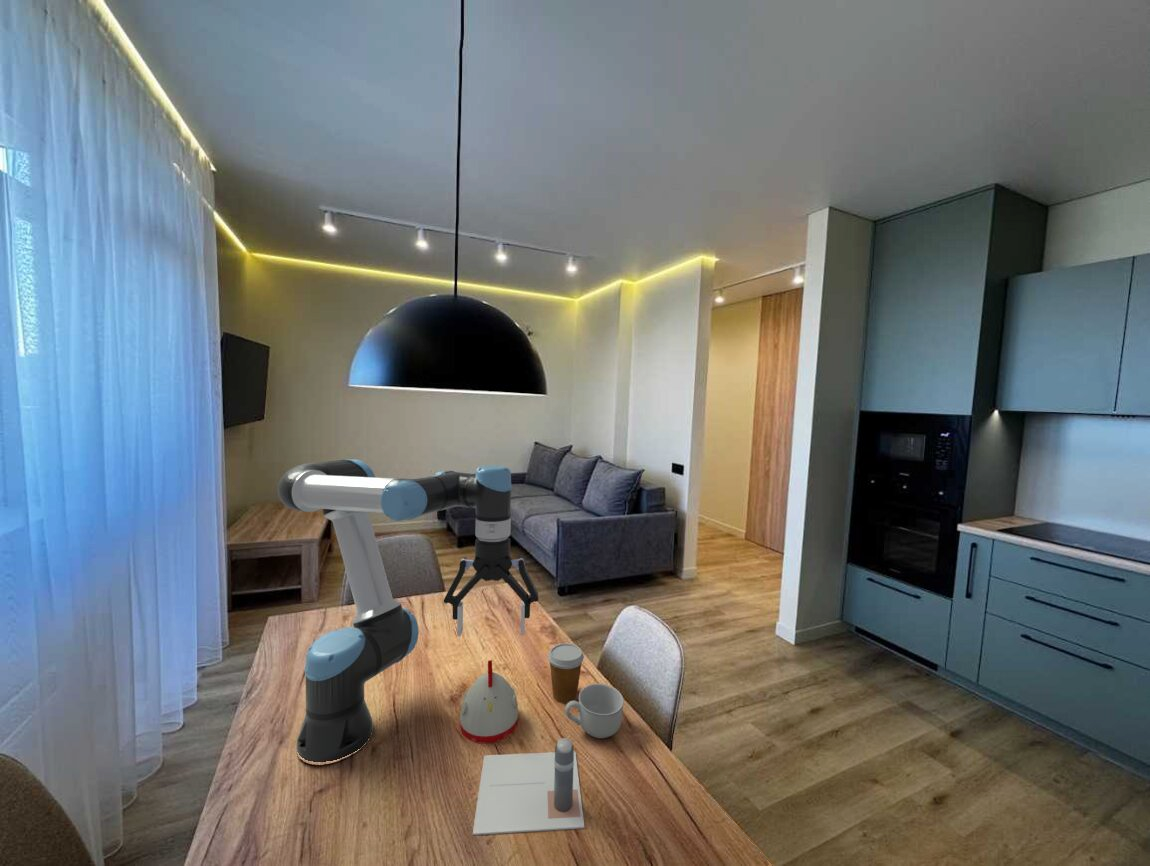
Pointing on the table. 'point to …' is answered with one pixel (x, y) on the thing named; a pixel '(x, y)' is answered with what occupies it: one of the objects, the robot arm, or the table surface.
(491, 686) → the kitchen timer
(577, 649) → the disposable coffee cup
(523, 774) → the paper
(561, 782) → the marker
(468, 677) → the table surface
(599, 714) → the teacup
